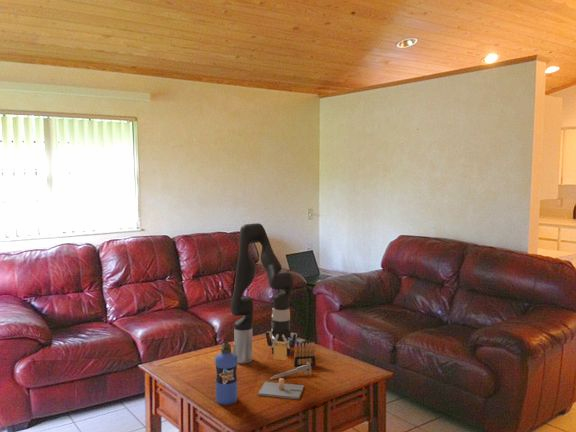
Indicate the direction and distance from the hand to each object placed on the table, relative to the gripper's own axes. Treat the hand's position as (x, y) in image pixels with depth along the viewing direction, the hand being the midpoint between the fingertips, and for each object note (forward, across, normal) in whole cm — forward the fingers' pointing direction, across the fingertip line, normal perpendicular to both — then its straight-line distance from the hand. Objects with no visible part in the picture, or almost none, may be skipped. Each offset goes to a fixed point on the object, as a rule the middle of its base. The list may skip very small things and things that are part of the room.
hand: (281, 355), depth 219 cm
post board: (+16, 0, 0) cm, 16 cm away
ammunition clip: (+17, +5, +31) cm, 36 cm away
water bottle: (+17, -21, -13) cm, 30 cm away
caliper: (+17, +1, +17) cm, 24 cm away
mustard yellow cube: (+1, 0, 0) cm, 1 cm away
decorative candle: (+17, -12, +48) cm, 52 cm away
